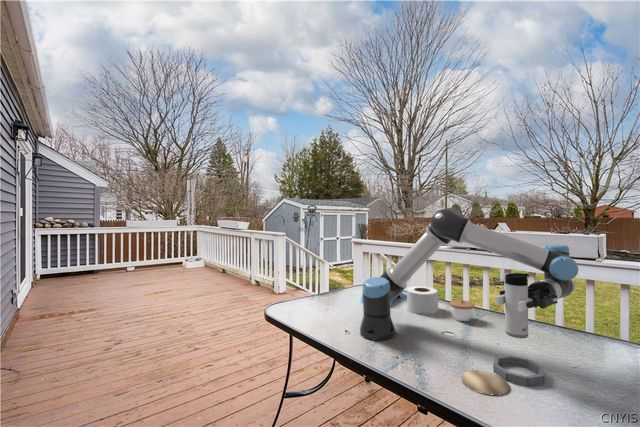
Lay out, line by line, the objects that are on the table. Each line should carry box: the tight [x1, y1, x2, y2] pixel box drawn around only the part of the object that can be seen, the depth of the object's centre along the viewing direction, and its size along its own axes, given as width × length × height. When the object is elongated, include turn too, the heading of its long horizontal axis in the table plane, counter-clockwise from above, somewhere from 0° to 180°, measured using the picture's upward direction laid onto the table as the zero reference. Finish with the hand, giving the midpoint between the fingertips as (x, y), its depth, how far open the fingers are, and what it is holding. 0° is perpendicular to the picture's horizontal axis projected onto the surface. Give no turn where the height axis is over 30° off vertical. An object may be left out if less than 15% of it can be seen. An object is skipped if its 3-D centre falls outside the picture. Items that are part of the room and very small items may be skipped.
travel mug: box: [504, 272, 530, 339], centre depth 101 cm, size 6×7×20 cm
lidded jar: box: [449, 299, 475, 322], centre depth 150 cm, size 11×11×9 cm
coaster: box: [460, 369, 510, 396], centre depth 97 cm, size 13×13×1 cm
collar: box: [492, 355, 545, 387], centre depth 102 cm, size 14×14×2 cm
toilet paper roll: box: [406, 285, 439, 316], centre depth 166 cm, size 16×15×11 cm
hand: (507, 303), depth 98 cm, fingers closed on travel mug, 6 cm apart
